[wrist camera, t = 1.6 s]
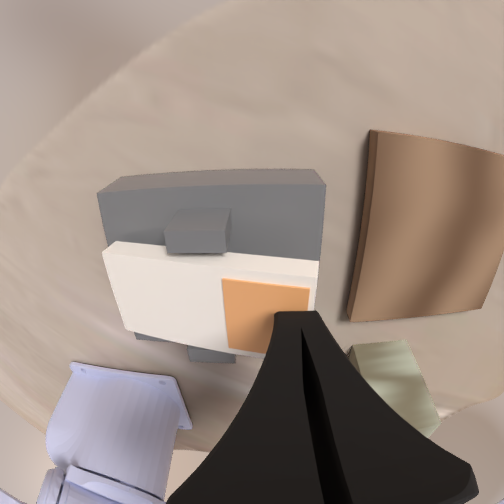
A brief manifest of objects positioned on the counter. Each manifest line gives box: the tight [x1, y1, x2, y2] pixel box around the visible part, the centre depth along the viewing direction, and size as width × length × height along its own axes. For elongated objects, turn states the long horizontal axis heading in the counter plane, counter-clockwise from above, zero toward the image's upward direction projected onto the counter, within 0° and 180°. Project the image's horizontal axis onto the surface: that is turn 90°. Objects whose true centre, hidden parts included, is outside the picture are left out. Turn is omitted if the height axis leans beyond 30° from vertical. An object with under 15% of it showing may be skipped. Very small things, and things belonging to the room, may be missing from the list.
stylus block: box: [349, 340, 441, 438], centre depth 16 cm, size 4×4×7 cm
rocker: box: [102, 241, 319, 359], centre depth 11 cm, size 8×4×1 cm, turn 91°
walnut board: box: [346, 130, 504, 322], centre depth 13 cm, size 10×10×1 cm
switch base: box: [97, 169, 326, 363], centre depth 13 cm, size 9×8×4 cm
